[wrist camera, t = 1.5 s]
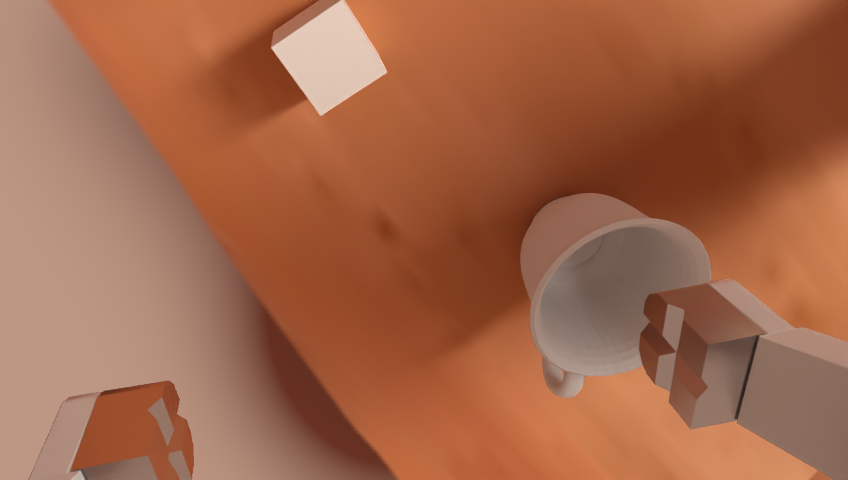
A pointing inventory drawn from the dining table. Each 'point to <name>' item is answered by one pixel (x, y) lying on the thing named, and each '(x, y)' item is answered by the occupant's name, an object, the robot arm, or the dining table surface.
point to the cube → (327, 53)
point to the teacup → (599, 283)
